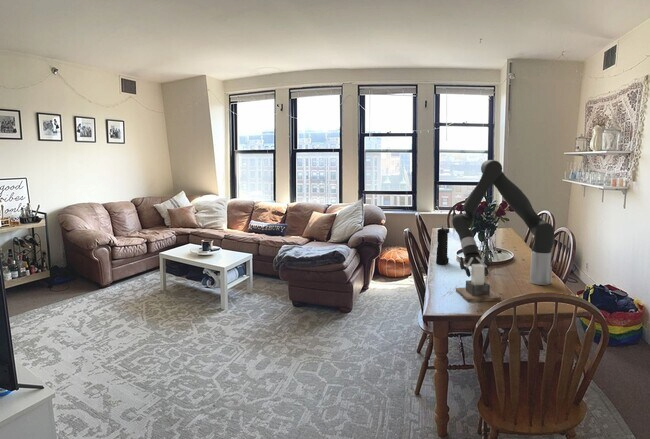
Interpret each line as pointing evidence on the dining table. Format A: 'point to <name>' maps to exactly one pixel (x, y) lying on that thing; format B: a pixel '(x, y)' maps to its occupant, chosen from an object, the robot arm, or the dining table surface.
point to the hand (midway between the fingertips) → (478, 275)
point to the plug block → (477, 274)
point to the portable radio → (442, 246)
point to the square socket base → (477, 292)
